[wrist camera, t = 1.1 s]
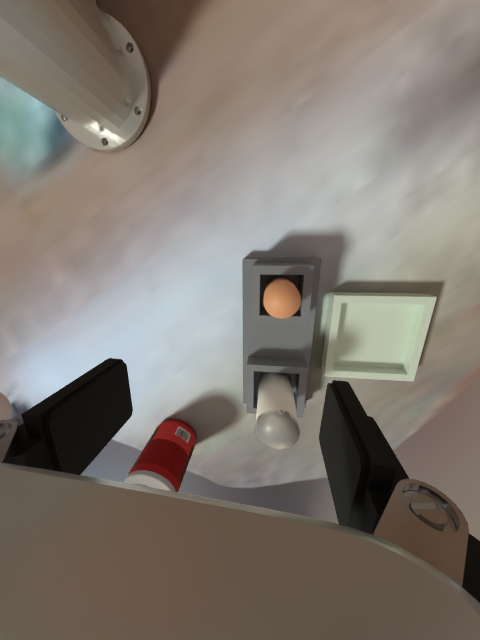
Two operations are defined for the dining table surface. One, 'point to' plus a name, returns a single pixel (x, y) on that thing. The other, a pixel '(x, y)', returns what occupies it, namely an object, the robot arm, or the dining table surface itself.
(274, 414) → the cylinder
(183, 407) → the dining table surface
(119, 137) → the robot arm
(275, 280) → the tan rounded piece
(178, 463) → the canned food
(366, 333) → the tray
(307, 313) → the housing
